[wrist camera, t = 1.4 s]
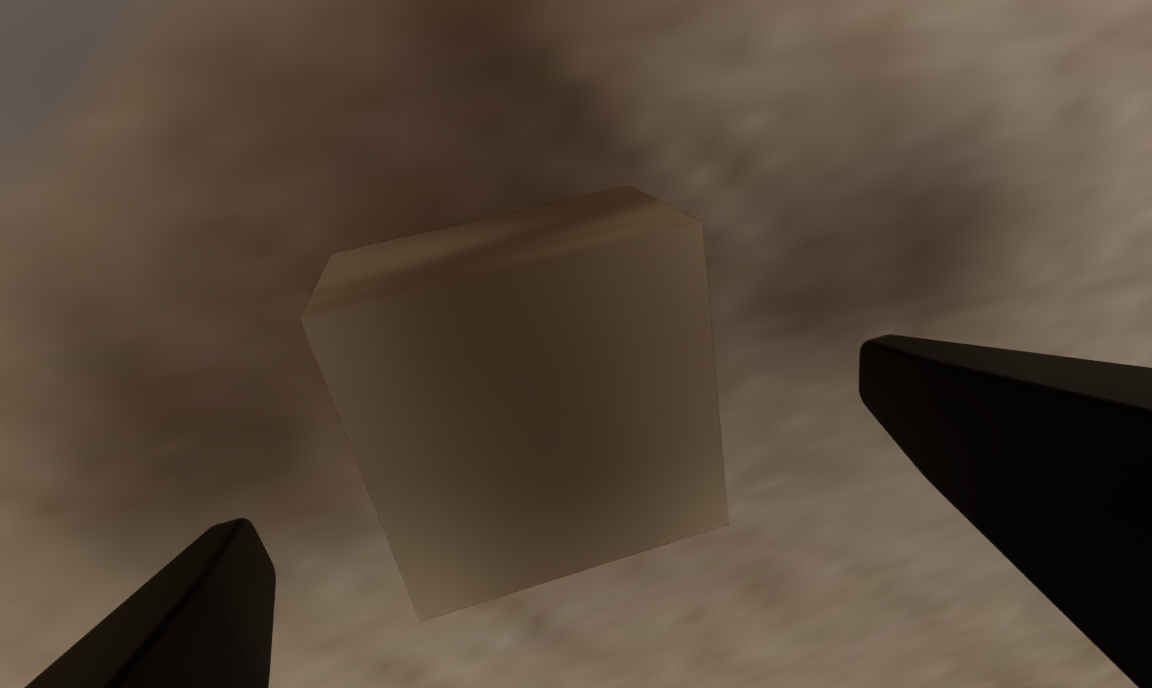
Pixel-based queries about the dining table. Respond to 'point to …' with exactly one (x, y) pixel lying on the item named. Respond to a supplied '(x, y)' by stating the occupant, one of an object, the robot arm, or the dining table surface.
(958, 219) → the dining table surface
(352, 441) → the oak block
